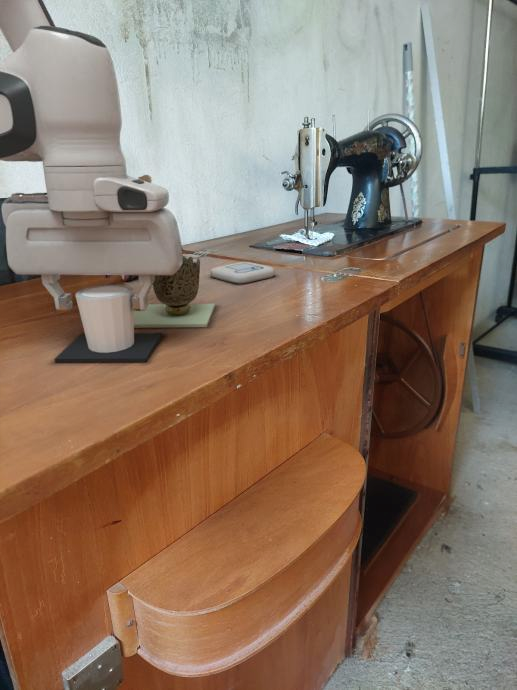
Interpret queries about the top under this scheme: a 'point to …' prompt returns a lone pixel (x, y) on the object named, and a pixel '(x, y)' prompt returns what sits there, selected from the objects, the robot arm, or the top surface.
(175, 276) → the cup
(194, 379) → the top surface
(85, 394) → the top surface
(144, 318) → the sage mat
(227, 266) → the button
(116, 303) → the white tapered cup
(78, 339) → the charcoal mat
